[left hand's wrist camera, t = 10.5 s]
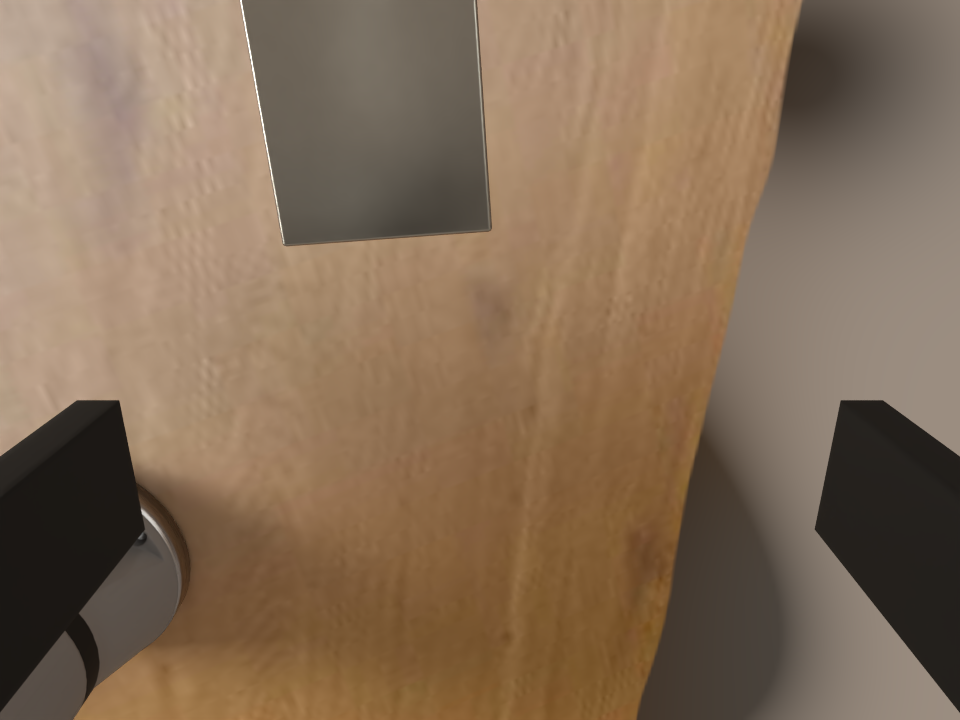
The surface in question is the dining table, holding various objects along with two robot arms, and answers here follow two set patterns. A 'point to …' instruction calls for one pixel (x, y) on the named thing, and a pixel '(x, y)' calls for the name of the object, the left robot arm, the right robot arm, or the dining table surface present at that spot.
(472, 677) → the dining table surface
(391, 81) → the bar
